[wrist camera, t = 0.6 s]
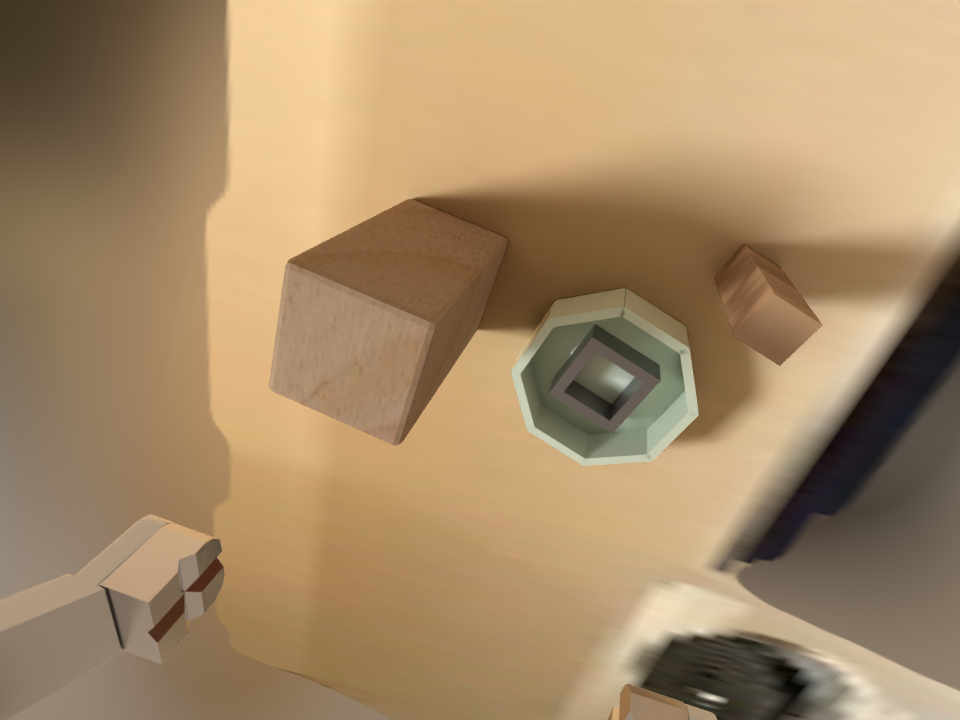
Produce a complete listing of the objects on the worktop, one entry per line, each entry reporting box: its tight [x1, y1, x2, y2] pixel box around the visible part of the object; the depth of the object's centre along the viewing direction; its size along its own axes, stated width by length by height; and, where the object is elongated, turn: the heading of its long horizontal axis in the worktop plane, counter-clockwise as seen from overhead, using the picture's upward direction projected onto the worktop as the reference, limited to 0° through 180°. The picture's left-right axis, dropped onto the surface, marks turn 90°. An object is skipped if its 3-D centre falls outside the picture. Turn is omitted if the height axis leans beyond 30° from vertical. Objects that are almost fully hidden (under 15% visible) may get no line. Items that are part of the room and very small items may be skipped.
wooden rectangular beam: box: [714, 244, 822, 366], centre depth 39 cm, size 4×4×12 cm
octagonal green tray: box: [511, 288, 699, 466], centre depth 50 cm, size 15×15×5 cm
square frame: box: [549, 324, 661, 434], centre depth 50 cm, size 7×7×3 cm
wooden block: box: [269, 199, 508, 445], centre depth 43 cm, size 10×10×20 cm
